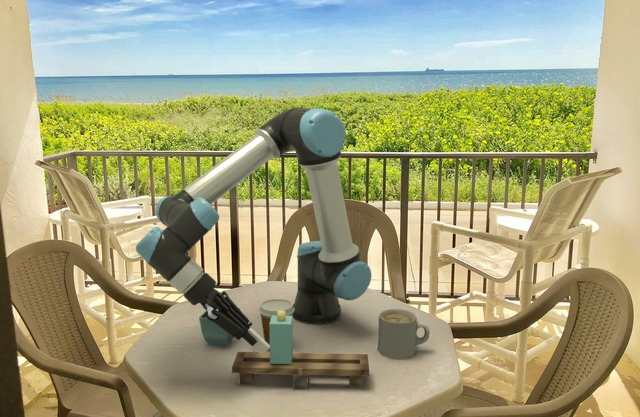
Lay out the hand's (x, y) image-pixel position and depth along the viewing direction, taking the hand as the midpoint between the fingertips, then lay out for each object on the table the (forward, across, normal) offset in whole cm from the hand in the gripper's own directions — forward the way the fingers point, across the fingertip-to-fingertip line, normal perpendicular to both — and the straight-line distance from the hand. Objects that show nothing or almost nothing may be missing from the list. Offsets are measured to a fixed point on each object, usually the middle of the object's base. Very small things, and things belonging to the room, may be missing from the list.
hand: (265, 350), depth 136 cm
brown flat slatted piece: (+11, 0, +1) cm, 11 cm away
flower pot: (-5, -19, -16) cm, 26 cm away
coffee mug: (+30, -17, +19) cm, 39 cm away
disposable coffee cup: (+6, -18, -5) cm, 20 cm away
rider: (+5, 0, 0) cm, 5 cm away
